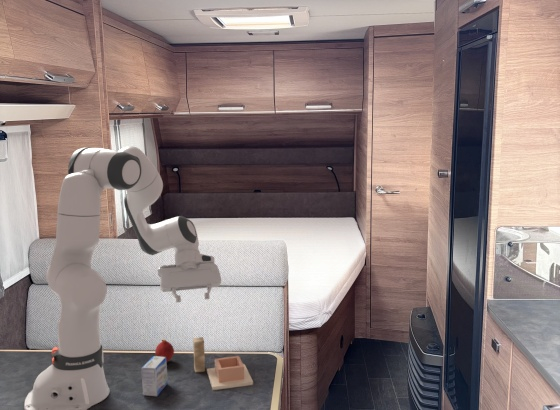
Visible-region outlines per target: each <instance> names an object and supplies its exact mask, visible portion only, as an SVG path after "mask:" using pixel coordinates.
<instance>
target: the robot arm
mask: <svg viewBox="0 0 560 410" xmlns="http://www.w3.org/2000/svg"><path fill="white" fill-rule="evenodd" d="M163 187H164V183H163V180H162V176H161V175H160V173H159V171H158V169H157V168H156V166H155V165H154V164H153V162H152V160H150V159H149V156H147V155H146V154H145V153H144V152H143V151H142V150H141V149H140V148H139V147H136V146H133V145H130V146H129V145H128V146H125V147H123V148H121V149H119V150H113V149H109V148H103V147H89V146H87V147H82V148H79V149H77V150H75V151H74V152H73V153H72V155H71V156H70V158H69V162H68V169H67V175H66V176H65V177H64V178H63V180H62V182H61V187H60V191H59V196H58V204H57V215H56V232H55V233H56V234H55V243H54V249H53V253H52V257H51V260H50V264H49V266H47V267H48V268H47V269H46V274H45V275H46V276H45V277H46V281H47V284H48V287H49V289H50V290H51V291H52V292H53V294H55V295H56V296H58V298H59V300H60V305H61V310H60V315H59V317H60V318H59V321H58V322H57V330H56V331H57V339H58V347H57V346H55V347H53V348H52V350H51V352H50V353H51V365H49V366H48V367H47V368H45V369H44V370H42V371H41V372H40V373H39V374H38V376H37V377H36V379H35V380H34V383H33V386H32V387H33V388H32V389H31V390H30V391H29V392H28V394H27V396H25V399H24V405H23V408H24V410H88V409H89V408H91V407H92V406H94V405H97V404H98V403H100V402H103V401H104V400H105V399H106V398H107V397H108V396H109V394H110V390H111V389H110V388H109V386H108V382H107V380H106V375H105V370H104V349H103V345H102V343H101V330H100V329H101V328H100V316H101V310H102V305H103V304H102V303H103V302H104V301H105V300H106V298H107V294H108V288H107V285H106V282H105V280H104V279H103V277H102V275H100V273H99V272H98V271H96V270H95V269H93V268H92V263H91V262H92V257H93V255H94V250H95V249H96V247H97V246H98V244H99V241H100V227H101V209H102V208H101V206H102V205H101V195H102V193H103V191H104V190H105V189H107V190H108V189H109V190H116V191H117V190H118V191H124V190H125V191H126V194H125V196H124V199H123V204H124V208H125V211H126V214H127V217H128V219H129V222H130V223H131V226H132V229H133V231H134V233H135V235H136V238H137V241H138V245H139V247H140V249H141V250H142V252H144V253H145V254H147V255H151V256H155V255H157V254H159V253H162V252H164V251H167V250H170V249H174V262H175V263H174V264H169V265H168V264H167V265H161V266H160V267H158V269H157V275H158V277H159V278H160V281H159V283H160V284H159V285H160V286H159V287H160V291H161V292H162V293H168V292H169V293H170V292H171V295H172V296H173V297H174V299H175V303H181V302H182V298H181V295H180V294H179V295H178V293H177V292H178V291H187V290H188V291H189V290H190V291H191V290H198V289H206V291H207V292H204V300H210V294H211V291H212V288H218V287H219V286H221V284H222V277H221V273H220V270H219V267H218V265H217V264H216V263H215V262H216V261H215V257H214V256H212V255H208V254H203V253H201V251H200V249H199V238H198V233H197V229H196V225H195V224H194V222H193V221H192V220H191V219H188V218H187V217H185V216H183V215H179V216H178V215H177V216H175V217H171V218H169V219H166V220H162V221H160V222H157V223H151V224H150V223H147V220H146V218H145V215H144V213H143V212H144V211H145V210H146V209H148V207H150V206H151V205H154V204H155V203H156V202H157V200H158V199H159V198H160V197H161V194H162V192H163V189H164V188H163Z"/></svg>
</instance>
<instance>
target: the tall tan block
mask: <svg viewBox="0 0 560 410" xmlns="http://www.w3.org/2000/svg"><path fill="white" fill-rule="evenodd" d="M192 341H193V342H192V343H193V344H192V345H193V346H192V347H193V369H194V372H195V373H202V372H203V373H204V372H206V365H205V364H206V362H205V340H204V337H203V336H202V337H193V338H192Z"/></svg>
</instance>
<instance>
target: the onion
mask: <svg viewBox="0 0 560 410" xmlns="http://www.w3.org/2000/svg"><path fill="white" fill-rule="evenodd" d="M174 355H175V349H174V346H173V345H172V343H170V342H169V341H167V340H166V339H164V338H162V339H161V342H160V343H158V344H157V346H156V348H155V356H160V357H166V362H167V363H168V362H170V361H171V359H172V358H173V357H174Z"/></svg>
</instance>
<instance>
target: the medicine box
mask: <svg viewBox="0 0 560 410" xmlns="http://www.w3.org/2000/svg"><path fill="white" fill-rule="evenodd" d="M167 363H168V362H166V357H160V356H156V355H154V356H152V357H150V358H149V360H148V361H147V362H146V363H145V364H143V366H142V367H141V380H142V381H141V384H142V395H143V396H148V397H158V396H159V395H160V393H161V392H162V391H163V389H164V388H166V386H167V385H168V368H167V367H168V365H167Z"/></svg>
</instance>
